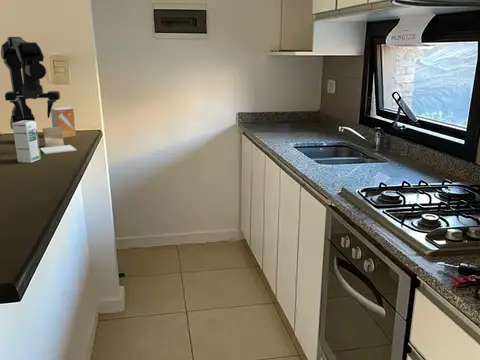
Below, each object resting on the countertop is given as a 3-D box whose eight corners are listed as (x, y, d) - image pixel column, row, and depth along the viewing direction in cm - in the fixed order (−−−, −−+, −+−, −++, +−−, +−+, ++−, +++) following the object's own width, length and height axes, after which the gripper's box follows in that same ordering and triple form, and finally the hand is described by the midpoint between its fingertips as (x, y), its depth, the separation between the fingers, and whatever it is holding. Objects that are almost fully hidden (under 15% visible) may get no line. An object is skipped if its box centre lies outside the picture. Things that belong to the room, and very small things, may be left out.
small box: (59, 138, 209) (56, 109, 205) (53, 136, 213) (50, 108, 209) (76, 136, 214) (73, 108, 211) (70, 134, 219) (67, 106, 215)
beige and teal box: (44, 147, 191) (42, 128, 189) (62, 145, 195) (60, 126, 193) (46, 148, 189) (43, 129, 187) (63, 146, 193) (61, 127, 191)
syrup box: (31, 163, 166) (26, 122, 162) (17, 162, 167) (11, 122, 163) (41, 159, 171) (36, 120, 167) (27, 158, 172) (22, 119, 168)
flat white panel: (39, 149, 188) (39, 148, 187) (70, 146, 194) (70, 144, 194) (44, 154, 180) (44, 152, 179) (76, 150, 186) (76, 149, 186)
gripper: (-1, 79, 164) (4, 122, 168) (55, 78, 168) (59, 121, 173) (5, 76, 174) (11, 117, 179) (58, 76, 179) (62, 116, 183)
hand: (35, 118), depth 178 cm, fingers open, 9 cm apart
